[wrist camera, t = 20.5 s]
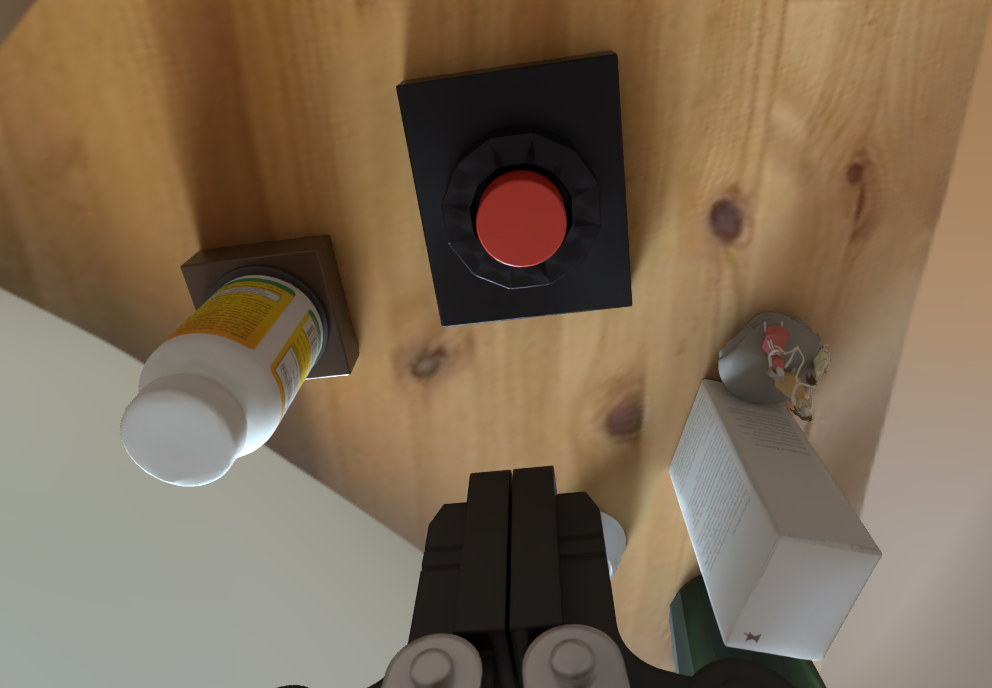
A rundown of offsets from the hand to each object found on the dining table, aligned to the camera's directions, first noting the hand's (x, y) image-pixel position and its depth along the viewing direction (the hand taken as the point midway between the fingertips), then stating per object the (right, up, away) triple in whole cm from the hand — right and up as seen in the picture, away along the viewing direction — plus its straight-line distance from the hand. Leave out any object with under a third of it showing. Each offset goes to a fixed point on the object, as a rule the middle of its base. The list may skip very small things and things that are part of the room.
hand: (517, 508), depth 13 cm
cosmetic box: (+12, -1, +25) cm, 28 cm away
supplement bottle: (-11, +4, +20) cm, 24 cm away
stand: (-11, +5, +23) cm, 26 cm away
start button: (+1, +9, +17) cm, 19 cm away
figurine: (+13, +3, +23) cm, 26 cm away
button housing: (+1, +10, +20) cm, 22 cm away
